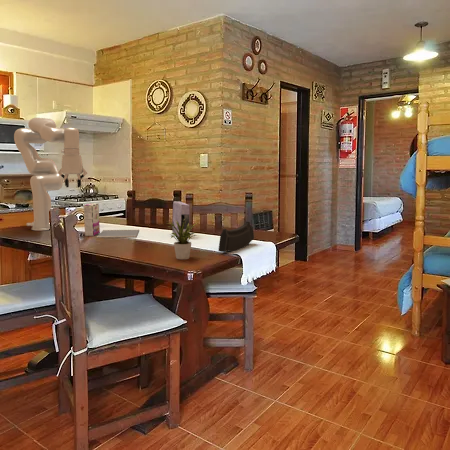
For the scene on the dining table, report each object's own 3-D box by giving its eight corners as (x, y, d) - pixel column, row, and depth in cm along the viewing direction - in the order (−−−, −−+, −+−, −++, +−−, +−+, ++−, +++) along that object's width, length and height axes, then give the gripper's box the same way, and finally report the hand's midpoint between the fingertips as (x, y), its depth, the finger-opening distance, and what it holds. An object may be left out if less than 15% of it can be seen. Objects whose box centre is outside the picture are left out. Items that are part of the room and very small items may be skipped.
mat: (96, 238, 227) (96, 236, 227) (103, 231, 251) (103, 230, 251) (136, 237, 230) (136, 236, 230) (139, 230, 253) (139, 229, 253)
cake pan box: (190, 238, 229) (190, 204, 226) (180, 238, 227) (180, 204, 225) (180, 233, 246) (180, 201, 244) (172, 233, 245) (171, 201, 242)
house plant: (155, 260, 175) (154, 218, 173) (171, 253, 188) (171, 215, 186) (187, 263, 170) (187, 220, 168) (202, 256, 183) (202, 216, 181)
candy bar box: (91, 233, 244) (90, 203, 242) (100, 233, 244) (99, 203, 242) (84, 236, 233) (83, 204, 231) (93, 236, 233) (92, 205, 231)
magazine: (222, 234, 184) (251, 207, 208) (215, 233, 185) (244, 207, 209) (227, 270, 190) (254, 240, 214) (220, 269, 192) (248, 240, 216)
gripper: (52, 151, 227) (54, 187, 230) (87, 152, 229) (88, 187, 232) (56, 152, 235) (58, 187, 237) (90, 152, 237) (91, 187, 239)
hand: (73, 186), depth 234 cm, fingers open, 5 cm apart
